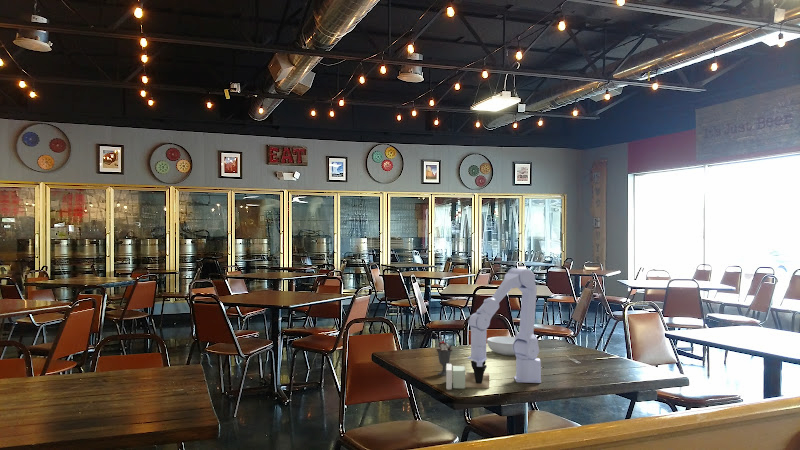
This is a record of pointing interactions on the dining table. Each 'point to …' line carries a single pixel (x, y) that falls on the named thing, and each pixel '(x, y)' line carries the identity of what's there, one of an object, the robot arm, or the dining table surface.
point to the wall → (449, 376)
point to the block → (459, 377)
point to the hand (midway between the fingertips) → (478, 381)
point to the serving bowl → (501, 345)
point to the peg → (472, 383)
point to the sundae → (444, 355)
